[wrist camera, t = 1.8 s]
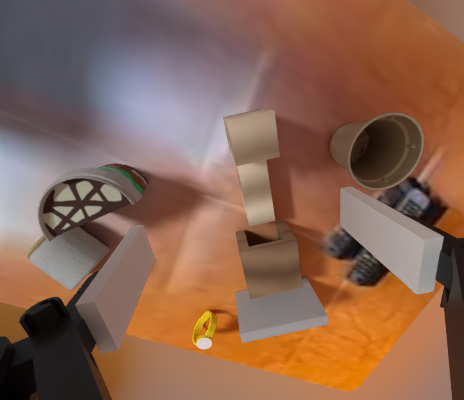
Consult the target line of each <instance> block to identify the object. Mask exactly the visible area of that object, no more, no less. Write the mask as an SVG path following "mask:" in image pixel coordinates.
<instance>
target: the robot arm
mask: <svg viewBox="0 0 464 400" xmlns="http://www.w3.org/2000/svg"><path fill="white" fill-rule="evenodd" d="M340 226H341V227H343V228H344V229H345V230H346V231H347V232H348V233H349V234H350V235H351V236H352V237H354V238H355V239H356V240H357V241H358V242H359V243H360V244H361V245H362V246H364V247H365V248H366V249H367V250H368V251H369V252H370V253H371V254H372V255H373V256H375V257H376V258H377V259H378V260H379V261H380V262H381V263H382V264H383V265H384V266H386V267H387V268H388V269H389V270H390V271H391V272H392V273H393V274H394V275H395V276H397V277H398V278H399V279H400V280H401V281H402V282H403V283H404V284H405V285H406V286H408V287H409V288H410V289H411V290H412V291H413V292H414V293H415V294H416V295H417V294H423V293H428V292H433V291H434V288H435V282H436V280H437V281H438V282H440V283H441V284H442V285H444V289H443V295H442V299H441V304H440V307H443V308H444V312H445V323H446V333H447V345H448V356H449V367H450V379H451V389H452V400H464V238H458V239H457V238H456V237H454V236H452V235H450V234H448V233H446V232H444V231H442V230H440V229H438V228H436V227H433V225H431V224H429V223H426V222H425V221H423V220H421V219H419V218H417V217H415V216H411V215H408V214H401V213H400V212H398V211H396V210H394V209H392V208H390V207H389V206H387V205H385V204H383V203H381V202H379V201H378V200H376V199H374V198H372V197H370V196H368V195H367V194H365V193H363V192H361V191H359V190H358V189H356V188H354V187H352V186H350V187H344V188H340ZM154 261H155V258H154V255H153V252H152V249H151V246H150V243H149V240H148V237H147V234H146V232H145V229H144V226H143V225H138V226H133V227H131V228H130V230H129V231H128V232H127V234H126V235H125V237H124V238H123V239H122V241H121V242H120V243H119V245H118V246H117V248H116V249H115V250H114V252H113V253H112V254H111V256H110V257H109V259H108V260H107V261H106V263H105V264H104V266H103V267H102V268H101V270H100V271H96V272H95V273H93V274H92V275H91V276H90V277H88V278H87V279H86V281H85V282H84V283H83V285H82V286H81V288H79V290H78V291H77V294H75V295H74V296H73V298H72V299H71V300H70V302H69V303H68V304H67V305H66V307H65V305H64V304H63V302H62V300H61V299H60V298H59V297H52V298H48V299H45V300H43V301H40V302H39V303H37V304H35V305H34V306H32V307H31V308H29V309H28V310H27V311H26V312H25V313H24V314H23V315H22V316H21V318H20V324H21V325H22V327H23V328H24V330H25V331H26V333H27V334H28V336H29V337H28V338H25V339H23V340H20V341H18V342H15V343H13V344H11V342H10V341H9V339H8V338H6V337H0V400H37V399H38V400H112V399H111V396H110V394H109V392H108V389H107V387H106V385H105V382H104V380H103V378H102V375H101V373H100V371H99V368H98V366H97V364H96V362H95V359H94V357H93V355H92V353H91V352H92V350H93V348H94V347H95V344H96V345H97V347H98V349H99V350H100V352H101V353H106V352H111V351H116V350H119V348H120V345H121V342H122V340H123V337H124V335H125V333H126V330H127V328H128V325H129V323H130V320H131V318H132V315H133V313H134V311H135V308H136V306H137V303H138V301H139V298H140V296H141V293H142V291H143V288H144V286H145V283H146V281H147V278H148V276H149V273H150V271H151V268H152V266H153V263H154Z"/></svg>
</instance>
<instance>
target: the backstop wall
mask: <svg viewBox="0 0 464 400" xmlns="http://www.w3.org/2000/svg"><path fill="white" fill-rule="evenodd" d="M302 286H303V288H300V289H295V290H290V291H286V292H281V293H276V294H272V295H267V296H262V297H258V298H253V299H250V296H249V292H248V290H244V291H239V292H235V297H236V305H237V313H238V322H239V330H240V336H241V340H242V343H244V342H249V341H253V340H258V339H263V338H267V337H272V336H277V335H281V334H286V333H291V332H295V331H300V330H305V329H309V328H314V327H319V326H323V325H328V315H327V313H326V312H325V310H324V308H323V306H322V304H321V303H320V301H319V299H318V297H317V295H316V294H315V292H314V290H313V288H312V286H311V285H310V283H309V281H308V279H307V277H304V278H302Z"/></svg>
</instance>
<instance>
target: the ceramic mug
mask: <svg viewBox="0 0 464 400" xmlns="http://www.w3.org/2000/svg"><path fill="white" fill-rule="evenodd" d="M109 250H110V248H108V247H107V246H106V245H104V244H102V243H101V242H100V241H98V240H97V239H96V238H94V237H93V236H91V235H90V234H88V233H86V232H85V231H84V230H82V229H81V228H80V227H76V228H74V229H71V230H69V231H67V232H65V233H62V234H61V235H58V236H57V237H56V238H54V239H53V240H52V241H51V242H49V241H48V240H47V239H46V237H45V236H44V235H43V236H42V237H41V238H40V239H39V240H38V241H37V242H36V243H35V244H34V245H33V246H32V247H31V248H30V250H29V251H28V254H27V257H28V259H29V260H30V261H31V262H32V263H33V264H34V265H35V266H36V267H37V268H39V269H40V270H42V271H44V272H45V273H47V274H48V275H49V276H51V277H52V278H54V279H55V280H56V281H58V282H59V283H60V284H62V285H63V286H64V287H66V288H67V289H69V290H73V289H74V288H76V287H77V286H78V285H79V283H81V281H82V280H83V279H84V278H85V277H86V276H87V275H88V274H89V273H90V272H91V271H92V270H93V269H94V268H95V266H97V264H98V263H99V262H100V261H101V260H102V259H103V258H104V256H105V255H106V254H107V253H108V252H109Z"/></svg>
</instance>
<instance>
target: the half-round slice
mask: <svg viewBox="0 0 464 400" xmlns="http://www.w3.org/2000/svg"><path fill="white" fill-rule="evenodd" d="M147 184H148V181H147V180H146V179H145V177H144V176H143V175H142V174H140V173H139V172H138V171H137V170H135V169H133V168H131V167H129V166H127V165H121V164H109V165H105V166H102V167H99V168H81V169H75V170H72V171H69V172H67V173H65V174H63V175H62V176H60V177H59V178H58V179H56V180H55V181H54V182H53V183H52V184H51V185H50V186H49V187H48V188H47V190H46V191H45V192H44V194H43V196H42V198H41V201H40V204H39V208H38V220H39V224H40V227H41V230H42V232H43V234H44V236H45V237H46V239H47V240H48V241H49V242H51V241H52V240H53V239H54V238H56V237H57V236H58V235H61V234H62V233H65V232H67V231H69V230H71V229H74V228H76V227H78V226H81V225H83V224H85V223H88V222H90V221H93V220H95V219H97V218H99V217H101V216H103V215H105V214H108V213H110V212H112V211H114V210H116V209H119V208H121V207H123V206H125V205H127V204H130V203H132V205H134V204H135V203H136V202H138V201H139V200H140V199H141V198H142V195H141V193H142V192H143V190H144V189H145V187H146V186H147Z"/></svg>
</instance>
